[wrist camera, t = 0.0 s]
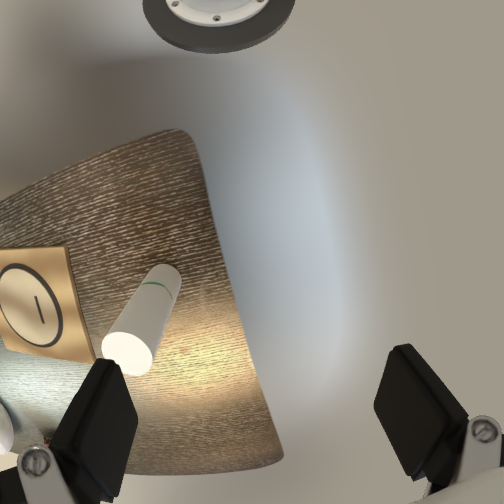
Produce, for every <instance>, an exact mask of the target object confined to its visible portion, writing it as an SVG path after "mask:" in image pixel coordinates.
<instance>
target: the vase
mask: <svg viewBox="0 0 504 504" xmlns="http://www.w3.org/2000/svg"><path fill="white" fill-rule="evenodd" d="M13 435H14V432H13V427H12V422H11V419H10V417H9V414H8V412H7V411H6V409H5V408H4V407H3V405H2V404H1V403H0V454H1V455H5V454H7V453H8V452H9V451H10V449H11V447H12V445H13Z"/></svg>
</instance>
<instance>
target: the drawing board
mask: <svg viewBox="0 0 504 504" xmlns="http://www.w3.org/2000/svg"><path fill="white" fill-rule="evenodd" d="M0 333H1V336H2V338H3V341H4V343H5V346H6V348H7V349H9V350H13V351H18V352H23V353H28V354H33V355H38V356H44V357H50V358H56V359H62V360H69V361H76V362H84V363H92V364H94V362H95V361H96V357H95V354H94V351H93V348H92V345H91V342H90V339H89V335H88V332H87V329H86V325H85V322H84V318H83V315H82V311H81V307H80V303H79V299H78V295H77V291H76V287H75V282H74V278H73V273H72V268H71V263H70V258H69V252H68V246H67V245H54V246H36V247H19V248H3V249H0Z"/></svg>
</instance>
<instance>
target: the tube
mask: <svg viewBox="0 0 504 504" xmlns="http://www.w3.org/2000/svg"><path fill="white" fill-rule="evenodd" d="M181 285H182V279H181V276H180V274H179V272H178V271H177V270H176V269H175V268H174V267H172V266H171V265H168V264H159V265H156V266H154V267H153V268H152V269H151V270H150V271H149V273H148V274H147V276H146V277H145V278H144V280H143V281H142V283H141V284H140V286H139V287H138V288H137V290H136V291H135V293H134V294H133V296H132V297H131V299H130V300H129V301H128V303H127V304H126V306H125V307H124V309H123V310H122V312H121V313H120V315H119V316H118V318H117V319H116V321H115V322H114V324H113V325H112V327H111V328H110V330H109V332H108V333H107V335H106V336H105V338H104V339H103V342H102V353H103V355H104V357H105V359H112V360H114V361H115V363H116V364H119V365H120V368H121V371H122V373H124V374H127V375H132V376H138V375H142V374H145V373H146V372H148V371H149V370H150V368H151V367H152V364H153V361H154V358H155V355H156V353H157V350H158V347H159V344H160V341H161V339H162V336H163V333H164V330H165V328H166V325H167V322H168V320H169V317H170V314H171V312H172V309H173V307H174V304H175V301H176V299H177V296H178V294H179V291H180V288H181Z"/></svg>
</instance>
